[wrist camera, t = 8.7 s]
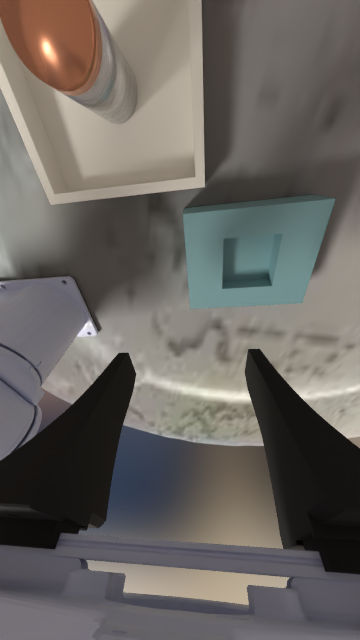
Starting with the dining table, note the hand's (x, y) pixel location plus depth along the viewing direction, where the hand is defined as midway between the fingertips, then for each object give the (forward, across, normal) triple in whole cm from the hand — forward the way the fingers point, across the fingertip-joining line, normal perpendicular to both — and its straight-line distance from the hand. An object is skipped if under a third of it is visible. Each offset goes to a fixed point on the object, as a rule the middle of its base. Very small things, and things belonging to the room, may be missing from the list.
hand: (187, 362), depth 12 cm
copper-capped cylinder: (+10, +4, -14) cm, 17 cm away
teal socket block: (+10, -5, -3) cm, 12 cm away
